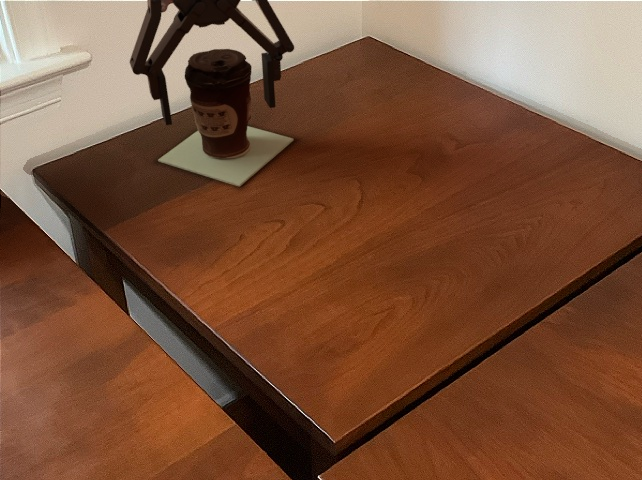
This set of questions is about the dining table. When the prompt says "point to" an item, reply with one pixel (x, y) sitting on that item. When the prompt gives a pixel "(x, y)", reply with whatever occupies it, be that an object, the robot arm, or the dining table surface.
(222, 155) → the coffee cup
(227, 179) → the mat
